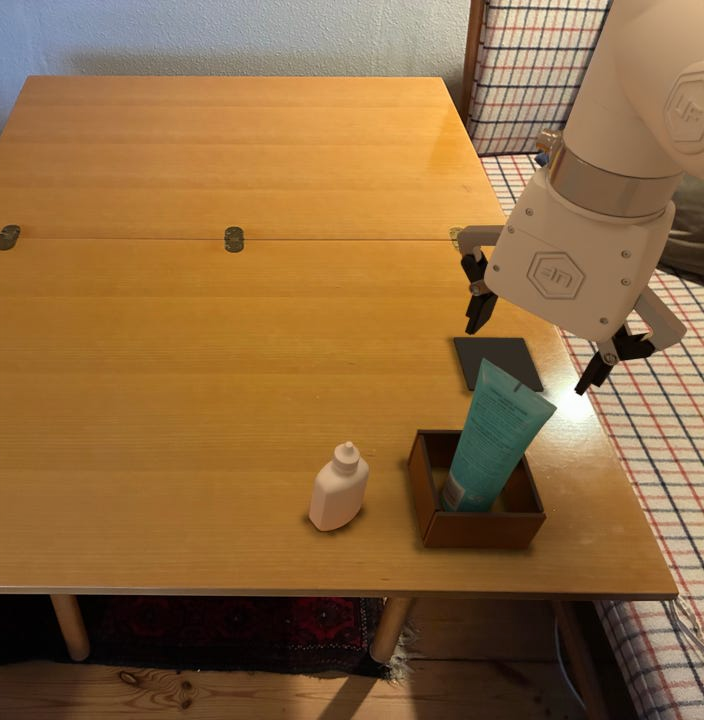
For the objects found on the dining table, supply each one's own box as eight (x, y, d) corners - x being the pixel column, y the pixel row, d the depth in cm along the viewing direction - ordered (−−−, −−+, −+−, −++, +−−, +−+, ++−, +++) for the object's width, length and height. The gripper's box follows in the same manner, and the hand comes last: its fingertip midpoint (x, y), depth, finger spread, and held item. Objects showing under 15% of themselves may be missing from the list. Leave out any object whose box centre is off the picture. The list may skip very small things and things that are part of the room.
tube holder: (500, 463, 77) (517, 430, 73) (527, 548, 70) (547, 517, 65) (406, 462, 77) (417, 429, 73) (423, 547, 70) (436, 515, 66)
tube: (506, 512, 73) (572, 391, 59) (481, 541, 70) (543, 422, 57) (446, 470, 76) (494, 347, 63) (420, 496, 74) (464, 374, 60)
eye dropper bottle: (305, 496, 74) (315, 426, 65) (357, 494, 74) (374, 424, 66) (310, 533, 71) (322, 465, 62) (364, 530, 71) (384, 462, 63)
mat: (522, 339, 91) (523, 337, 90) (543, 391, 84) (544, 389, 84) (453, 339, 91) (453, 336, 90) (468, 390, 84) (469, 388, 84)
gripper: (464, 146, 47) (414, 326, 60) (736, 256, 39) (612, 439, 52) (518, 108, 51) (460, 285, 63) (776, 201, 43) (652, 384, 55)
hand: (528, 354), depth 57 cm, fingers open, 9 cm apart
